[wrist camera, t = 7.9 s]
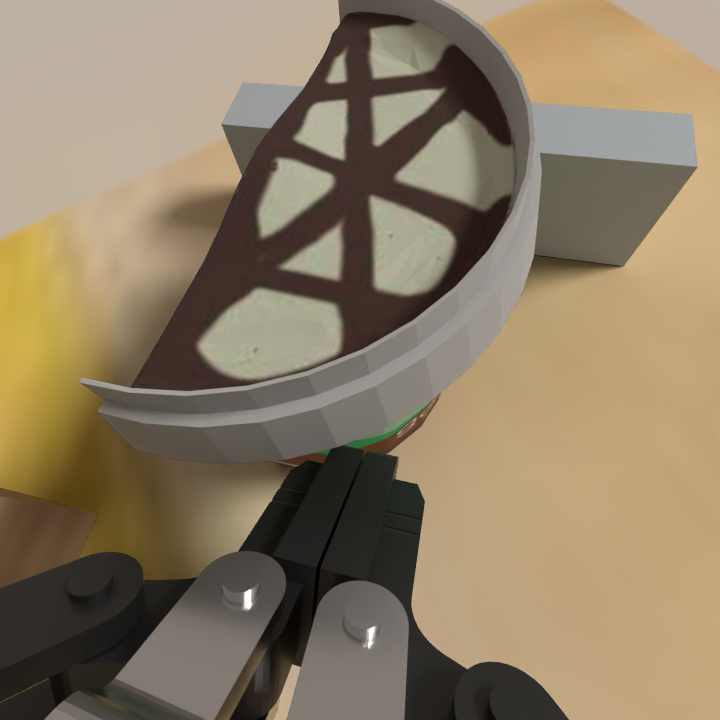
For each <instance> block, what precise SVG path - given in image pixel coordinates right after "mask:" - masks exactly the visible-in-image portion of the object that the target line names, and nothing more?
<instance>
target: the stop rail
mask: <svg viewBox="0 0 720 720" xmlns="http://www.w3.org/2000/svg"><path fill="white" fill-rule="evenodd" d="M303 88H304V87H300V86H287V85H273V84H258V83H244V82H243V83H242V85H241V87H240V89H239V91H238V93H237V95H236V97H235V99H234V101H233V103H232V104H231V106H230V108H229V110H228V112H227V114H226V116H225V118H224V120H223V122H222V127H223V129H224V132H225V134H226V137H227V139H228V142H229V144H230V147H231V149H232V152H233V154H234V157H235V159H236V162H237V164H238V167H239V169H240V172H241V174H242V176H243V174H244V172H245V170H246V168H247V166H248V164H249V162H250V160H251V158H252V155H253V153H254V151H255V150H256V148H257V146H258V145H259V143H260V142H261V141H262V139H263V138H264V137H265V135H266V134H267V133H268V131H269V130H270V129H271V127H272V126H273V125H274V123H275V122H276V121H277V120H278V118H279V117H280V116H281V115H282V114H283V112H284V111H285V110H286V109H287V108H288V106H289V105H290V104H291V103H292V102H293V100H294V99H295V98H296V97H297V96H298V95H299V93H300V92H301V91H302V90H303ZM531 105H532V113H533V123H534V126H535V129H536V132H537V135H538V140H539V150H540V159H541V169H542V174H541V186H540V198H539V210H538V222H537V231H536V240H535V249H534V255H540V256H548V257H556V258H564V259H572V260H580V261H587V262H595V263H603V264H611V265H619V266H624V265H625V264H626V262H627V261H628V260H629V258H630V257H631V256H632V254H633V253H634V252H635V250H636V249H637V248H638V246H639V245H640V244H641V242H642V241H643V239H644V238H645V237H646V235H647V234H648V233H649V231H650V230H651V229H652V227H653V226H654V225H655V223H656V222H657V221H658V219H659V218H660V217H661V215H662V214H663V213H664V211H665V210H666V209H667V207H668V206H669V205H670V203H671V202H672V201H673V199H674V198H675V197H676V195H677V194H678V193H679V191H680V190H681V188H682V187H683V186H684V184H685V183H686V182H687V180H688V179H689V178H690V176H691V175H692V174H693V172H694V171H695V170H696V168H697V167H698V165H697V155H696V146H695V137H694V127H693V118H692V114H678V113H664V112H650V111H636V110H622V109H608V108H594V107H580V106H566V105H552V104H538V103H531Z"/></svg>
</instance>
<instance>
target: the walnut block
mask: <svg viewBox="0 0 720 720" xmlns="http://www.w3.org/2000/svg"><path fill="white" fill-rule="evenodd" d="M97 516H98V514H97V513H93V512H90V511H86V510H82V509H78V508H75V507H71V506H67V505H63V504H59V503H56V502H52V501H48V500H44V499H40V498H37V497H33V496H29V495H25V494H22V493H18V492H14V491H10V490H6V489H3V488H0V588H2V587H5V586H7V585H10V584H13V583H15V582H18V581H21V580H23V579H26V578H29V577H32V576H34V575H37V574H40V573H42V572H45V571H48V570H50V569H53V568H56V567H59V566H61V565H64V564H67V563H69V562H72V561H75V560H78V559H79V557H80V554H81V552H82V550H83V548H84V545H85V543H86V541H87V539H88V536H89V534H90V532H91V530H92V528H93V525H94V523H95V521H96V519H97Z"/></svg>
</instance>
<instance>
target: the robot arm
mask: <svg viewBox="0 0 720 720" xmlns="http://www.w3.org/2000/svg"><path fill="white" fill-rule="evenodd" d="M398 459H399V457H396V456H392V455H387V454H382V453H378V452H373V451H369V450H368V451H367V452H366V450H363V449H359V448H354V447H349V446H345V445H342V446H339V447H336V448H331V450H330V452H329V454H328V455H327V457H326V459H325V461H324V463H319V462H315V461H310V460H307V461H305V462H303V463H302V464H300V465H299V466H297V467H296V468H294V469H293V470H291V471H290V472H289V474H288V476H287V477H286V479H285V480H284V482H283V483H282V485H281V488H280V489H278V491H277V492H276V494H275V496H274V497H273V500H272V502H270V503H269V505H268V506H267V508H266V509H265V511H264V512H263V514H262V516H261V517H260V519H259V520H258V522H257V523H256V525H255V526H254V528H253V529H252V531H251V532H250V534H249V536H248V537H247V539H246V540H245V542H244V543H243V545H242V546H241V548H240V549H239V551H238V552H234V553H231V554H227V555H225V556H222V557H220V558H218V559H217V560H215V561H213V562H212V563H211V564H210V565H208V566H207V567H206V568H205V569H204V570H203V572H202V573H201V574H200V575H199V576H198V577H196V578H191V579H178V580H144V576H143V570H142V567H141V565H140V564H139V562H138V561H137V560H136V559H134V558H133V557H131V556H129V555H126V554H123V553H117V552H105V553H98V554H93V555H89V556H86V557H83V558H80V559H78V560H75V561H72V562H69V563H67V564H64V565H61V566H59V567H56V568H53V569H50V570H48V571H45V572H42V573H40V574H37V575H34V576H32V577H29V578H26V579H23V580H21V581H18V582H15V583H13V584H10V585H7V586H5V587H2V588H0V701H2V700H4V699H6V698H8V697H10V696H12V695H15V694H17V693H19V692H21V691H23V690H25V689H27V688H29V687H31V686H33V685H35V684H37V683H39V682H41V681H43V680H45V679H47V678H49V679H48V680H46V681H44V682H42V683H40V684H38V685H36V686H34V687H32V688H30V689H28V690H26V691H24V692H22V693H20V694H18V695H16V696H14V697H12V698H10V699H8V700H6V701H4V702H2V703H0V720H274V718H275V715H276V713H277V710H278V705H279V698H280V695H281V693H282V690H283V687H284V685H285V682H286V679H287V677H288V674H289V671H290V669H291V666H292V664H293V665H297V666H300V667H301V669H300V673H299V677H298V680H297V684H296V687H295V691H294V695H293V698H292V702H291V706H290V709H289V713H288V717H287V720H569V719H568V718H567V717H566V715H565V714H564V713H563V712H562V710H561V709H560V708H559V706H558V705H557V704H556V703H555V701H554V700H553V699H552V698H551V696H550V695H549V694H548V693H547V692H546V690H545V689H544V688H543V687H542V686H541V685H540V684H539V683H538V682H537V681H535V680H534V679H533V678H532V677H530V676H529V675H528V674H526V673H525V672H523V671H521V670H519V669H517V668H515V667H513V666H510V665H508V664H504V663H499V662H483V663H479V664H476V665H474V666H472V667H471V668H469V669H466V668H464V667H463V666H461V665H460V664H458V663H457V662H455V661H453V660H452V659H450V658H449V657H447V656H446V655H444V654H443V653H441V652H440V651H439V650H437V649H436V648H435V647H434V646H433V645H432V644H431V643H429V641H428V640H427V639H426V638H425V637H424V635H423V634H422V633H421V631H420V629H419V628H418V626H417V624H416V622H415V620H414V616H413V613H412V607H411V599H412V591H413V583H414V576H415V569H416V562H417V554H418V547H419V540H420V533H421V525H422V518H423V511H424V504H425V501H424V498H423V496H422V494H421V491H420V489H419V487H418V485H417V484H414V483H409V482H405V481H400V480H396V473H397V467H398Z"/></svg>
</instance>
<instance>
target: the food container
mask: <svg viewBox="0 0 720 720" xmlns="http://www.w3.org/2000/svg"><path fill="white" fill-rule="evenodd" d="M338 1H339V15H340V25H339V27H338V28H337V29H336V30H335V31H334V33H333V34H332V37H331V40H330V43H329V45H328V48H327V50H326V52H325V54H324V56H323V58H322V59H321V61H320V63H319V64H318V66H317V68H316V69H315V71H314V73H313V74H312V76H311V78H310V79H309V81H308V82H307V84H306V86H305V87H304V88H303V90H302V91H301V92H300V93H299V95H298V96H297V97H296V98H295V99H294V100H293V102H292V103H291V104H290V105H289V106H288V108H287V109H286V110H285V111H284V112H283V114H282V115H281V116H280V117H279V118H278V120H277V121H276V122H275V123H274V125H273V126H272V127H271V129H270V130H269V131H268V133H267V134H266V135H265V137H264V138H263V139H262V141H261V142H260V143H259V145H258V146H257V148H256V150H255V151H254V153H253V155H252V158H251V160H250V162H249V164H248V166H247V168H246V170H245V172H244V174H243V176H242V178H241V180H240V182H239V184H238V187H237V189H236V191H235V194H234V196H233V198H232V201H231V203H230V205H229V207H228V210H227V212H226V214H225V217H224V219H223V221H222V224H221V226H220V228H219V231H218V233H217V235H216V237H215V239H214V241H213V243H212V245H211V248H210V250H209V252H208V254H207V256H206V258H205V260H204V262H203V264H202V266H201V267H200V269H199V271H198V273H197V274H196V276H195V278H194V280H193V281H192V283H191V285H190V287H189V288H188V290H187V292H186V294H185V295H184V297H183V299H182V301H181V302H180V304H179V306H178V308H177V309H176V311H175V313H174V315H173V316H172V318H171V320H170V322H169V323H168V325H167V327H166V329H165V330H164V332H163V334H162V335H161V337H160V339H159V341H158V342H157V344H156V346H155V347H154V349H153V351H152V352H151V354H150V356H149V357H148V359H147V361H146V362H145V364H144V366H143V368H142V369H141V371H140V373H139V374H138V376H137V378H136V379H135V381H134V383H133V384H132V386H131V388H129V387H124V386H120V385H115V384H110V383H106V382H101V381H96V380H92V379H87V378H82V379H81V380H80V382H79V383H81V384H82V385H84V386H85V387H87V388H88V389H90V390H91V391H93V392H94V393H96V394H97V395H99V396H100V397H102V398H103V399H105V400H104V401H103V402H102V404H101V405H100V407H99V409H98V410H97V413H98V414H99V415H100V416H101V417H102V418H103V419H104V420H105V421H106V422H107V423H108V424H109V425H111V426H112V427H113V428H114V429H115V430H116V431H117V432H118V433H119V434H120V435H121V436H122V437H123V438H124V439H125V440H126V441H127V442H128V443H129V444H130V445H131V446H132V447H133V448H134V449H136V450H140V451H144V452H148V453H152V454H156V455H160V456H164V457H168V458H172V459H176V460H182V461H195V462H208V463H221V464H241V463H252V462H264V461H273V462H275V463H279V464H283V465H287V466H292V467H297V466H299V465H300V464H302V463H303V462H305V461H307V460H310V461H315V462H319V463H324V461H325V459H326V457H327V455H328V454H329V452H330V450H331V448H336V447H339V446H342V445H345V446H349V447H354V448H359V449H363V450H366V452H367V451H368V450H369V451H373V452H378V453H382V454H386V453H389V452H390V451H392V450H393V449H394V448H395V447H396V446H398V445H399V444H400V443H401V442H403V441H404V440H405V439H406V438H408V437H409V436H410V435H411V434H412V433H414V432H415V431H416V430H417V429H419V428H420V427H421V426H422V424H423V422H424V421H425V419H426V418H427V416H428V415H429V413H430V412H431V410H432V409H433V407H434V406H435V404H436V403H437V401H438V399H439V396H440V394H441V392H442V391H443V390H445V389H446V388H447V387H448V386H449V385H450V384H452V383H453V382H454V381H455V380H456V379H457V378H459V377H460V376H461V375H462V374H463V373H464V372H466V371H467V370H468V369H469V368H470V367H471V366H472V365H473V364H474V363H475V362H476V360H477V359H478V358H479V357H480V356H481V354H482V353H483V352H484V351H485V350H486V348H487V347H488V346H489V345H490V344H491V342H492V341H493V340H494V339H495V338H496V336H497V335H498V334H499V333H500V332H501V330H502V328H503V326H504V325H505V323H506V321H507V319H508V318H509V316H510V314H511V312H512V310H513V309H514V307H515V305H516V303H517V302H518V300H519V298H520V296H521V294H522V291H523V288H524V285H525V282H526V279H527V276H528V273H529V270H530V267H531V264H532V261H533V258H534V249H535V240H536V231H537V222H538V210H539V198H540V186H541V174H542V169H541V159H540V150H539V140H538V135H537V132H536V129H535V126H534V123H533V113H532V105H531V102H530V100H529V97H528V94H527V91H526V88H525V85H524V83H523V80H522V77H521V75H520V73H519V72H518V70H517V69H516V67H515V65H514V64H513V62H512V61H511V59H510V57H509V56H508V54H507V53H506V51H505V50H504V49H503V48H502V47H501V45H500V44H499V43H498V42H497V41H496V40H495V39H494V38H493V37H492V36H491V35H490V34H489V33H488V32H487V31H486V30H485V29H484V28H483V27H482V26H481V25H479V24H478V23H477V22H475V21H474V20H472V19H471V18H470V17H469V16H467V15H466V14H464V13H463V12H462V11H460V10H459V9H457V8H455V7H453V6H452V5H450V4H448V3H446V2H444V1H442V0H338Z"/></svg>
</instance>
